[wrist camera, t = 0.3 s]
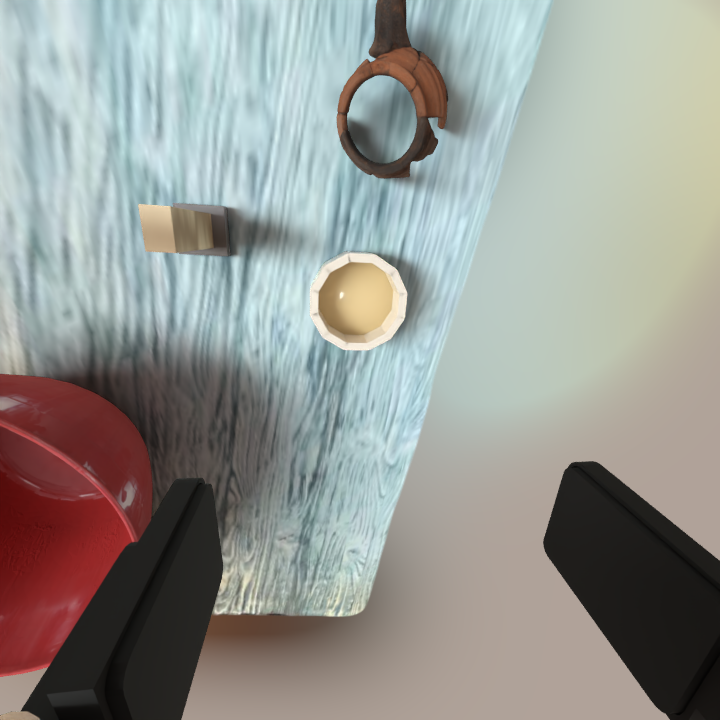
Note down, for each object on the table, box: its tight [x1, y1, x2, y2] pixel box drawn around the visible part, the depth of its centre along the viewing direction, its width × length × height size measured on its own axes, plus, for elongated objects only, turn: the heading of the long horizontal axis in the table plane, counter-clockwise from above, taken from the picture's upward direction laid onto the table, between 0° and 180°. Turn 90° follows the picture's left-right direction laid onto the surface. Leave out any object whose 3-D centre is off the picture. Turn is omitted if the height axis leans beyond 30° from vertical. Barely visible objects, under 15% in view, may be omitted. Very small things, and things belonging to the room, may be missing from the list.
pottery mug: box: [337, 0, 448, 178], centre depth 28 cm, size 12×9×8 cm
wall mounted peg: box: [138, 203, 231, 256], centre depth 28 cm, size 4×4×10 cm
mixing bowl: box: [0, 374, 153, 677], centre depth 31 cm, size 28×28×15 cm
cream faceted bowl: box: [310, 251, 407, 350], centre depth 35 cm, size 10×10×4 cm
